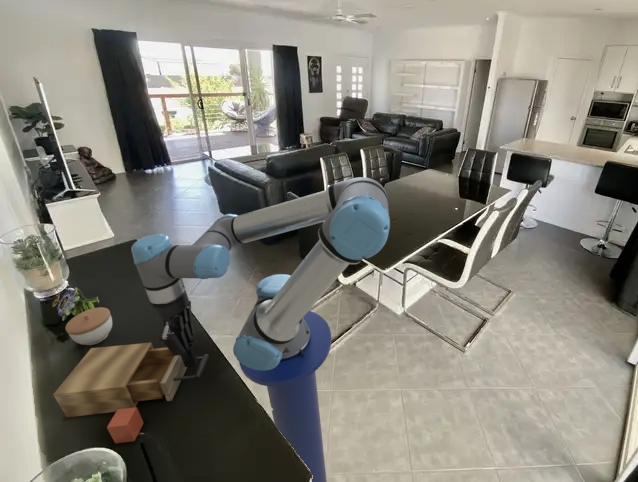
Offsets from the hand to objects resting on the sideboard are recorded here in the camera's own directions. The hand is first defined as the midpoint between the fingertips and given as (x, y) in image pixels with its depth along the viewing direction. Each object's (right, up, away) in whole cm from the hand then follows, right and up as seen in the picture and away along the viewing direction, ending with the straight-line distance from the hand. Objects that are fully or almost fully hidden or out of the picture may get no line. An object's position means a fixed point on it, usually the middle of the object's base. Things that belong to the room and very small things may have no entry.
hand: (191, 364), depth 87 cm
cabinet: (-20, -7, 0) cm, 21 cm away
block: (-9, -11, -10) cm, 18 cm away
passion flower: (-54, +5, +26) cm, 60 cm away
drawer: (-8, -5, +1) cm, 9 cm away
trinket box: (-40, 0, +16) cm, 43 cm away
